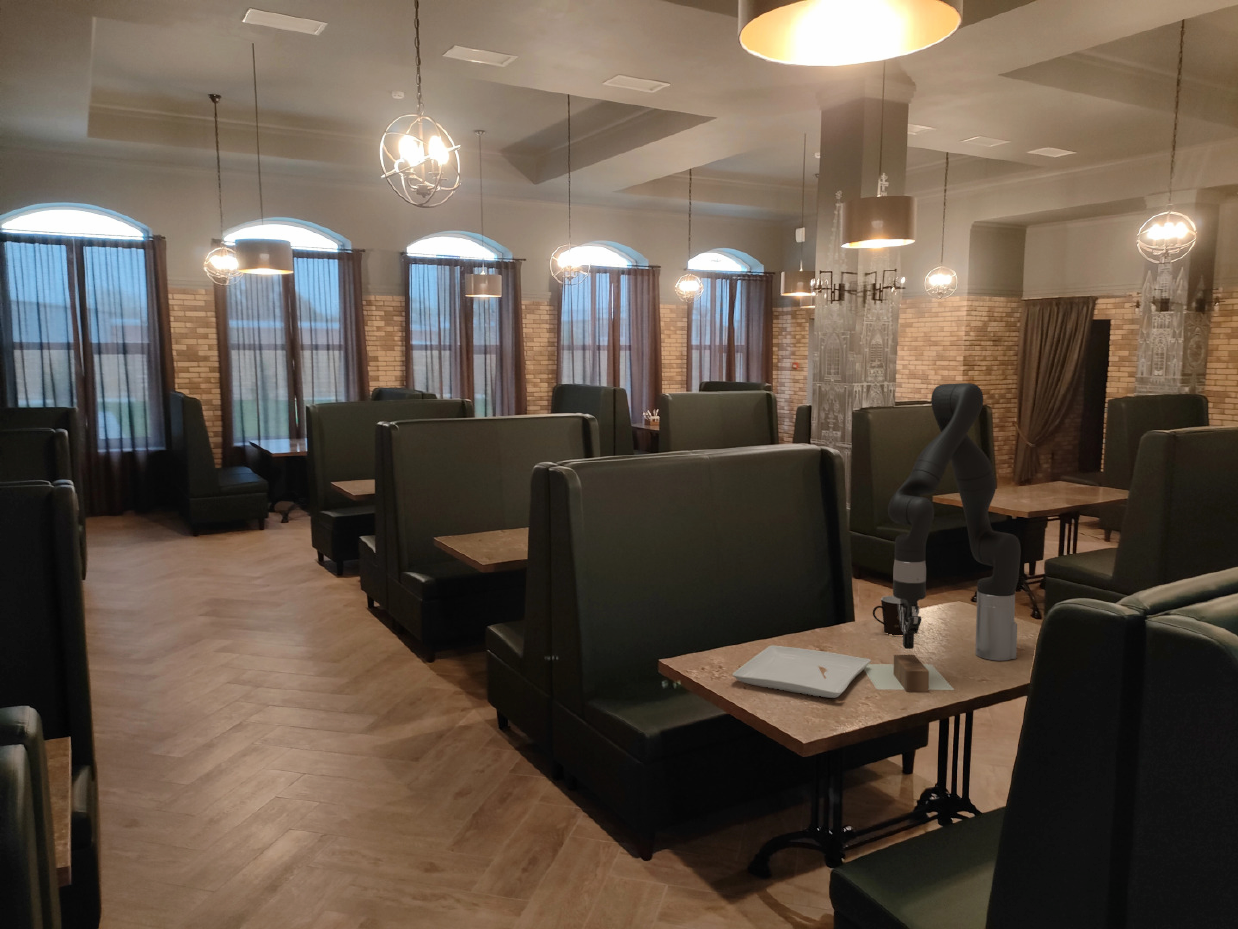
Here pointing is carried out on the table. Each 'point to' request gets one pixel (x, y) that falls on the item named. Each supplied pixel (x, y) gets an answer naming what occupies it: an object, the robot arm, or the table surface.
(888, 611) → the coffee mug
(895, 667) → the walnut block
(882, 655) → the table surface
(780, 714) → the table surface
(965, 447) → the robot arm
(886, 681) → the sage mat
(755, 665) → the square plate
